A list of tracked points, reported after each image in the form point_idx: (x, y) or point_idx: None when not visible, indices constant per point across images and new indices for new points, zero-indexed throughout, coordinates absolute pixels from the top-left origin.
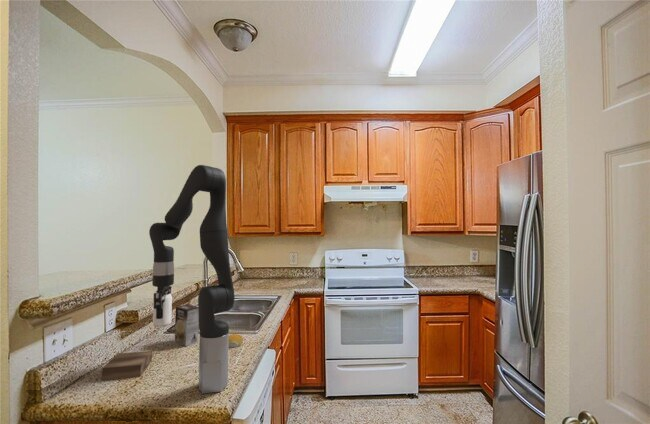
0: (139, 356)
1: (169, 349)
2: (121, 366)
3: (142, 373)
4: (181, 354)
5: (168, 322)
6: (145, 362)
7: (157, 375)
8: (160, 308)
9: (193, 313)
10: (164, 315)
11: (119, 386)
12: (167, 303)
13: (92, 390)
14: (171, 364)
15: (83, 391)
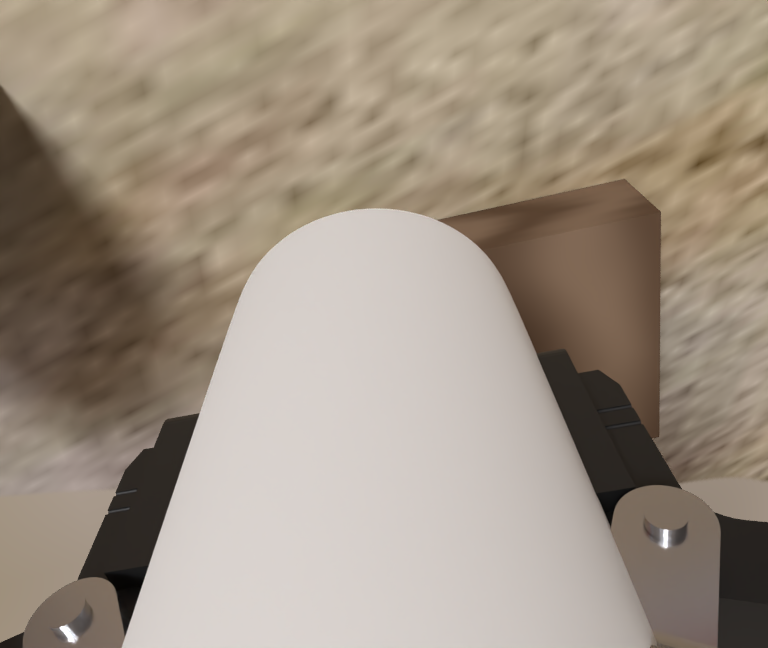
0: None
1: (106, 214)
2: (659, 339)
3: (580, 189)
4: (191, 34)
5: (431, 227)
6: (530, 225)
7: (633, 43)
8: (742, 522)
9: None
10: (525, 352)
11: (751, 237)
12: (558, 538)
13: (758, 359)
14: (421, 24)
15: (755, 395)
